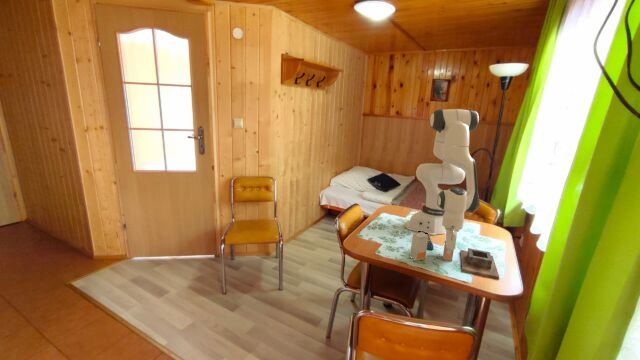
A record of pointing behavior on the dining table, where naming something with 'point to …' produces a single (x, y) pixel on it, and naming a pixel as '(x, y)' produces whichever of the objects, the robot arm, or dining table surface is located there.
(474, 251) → the socket holder
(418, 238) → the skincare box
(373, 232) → the dining table surface
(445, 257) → the square peg
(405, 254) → the dining table surface
